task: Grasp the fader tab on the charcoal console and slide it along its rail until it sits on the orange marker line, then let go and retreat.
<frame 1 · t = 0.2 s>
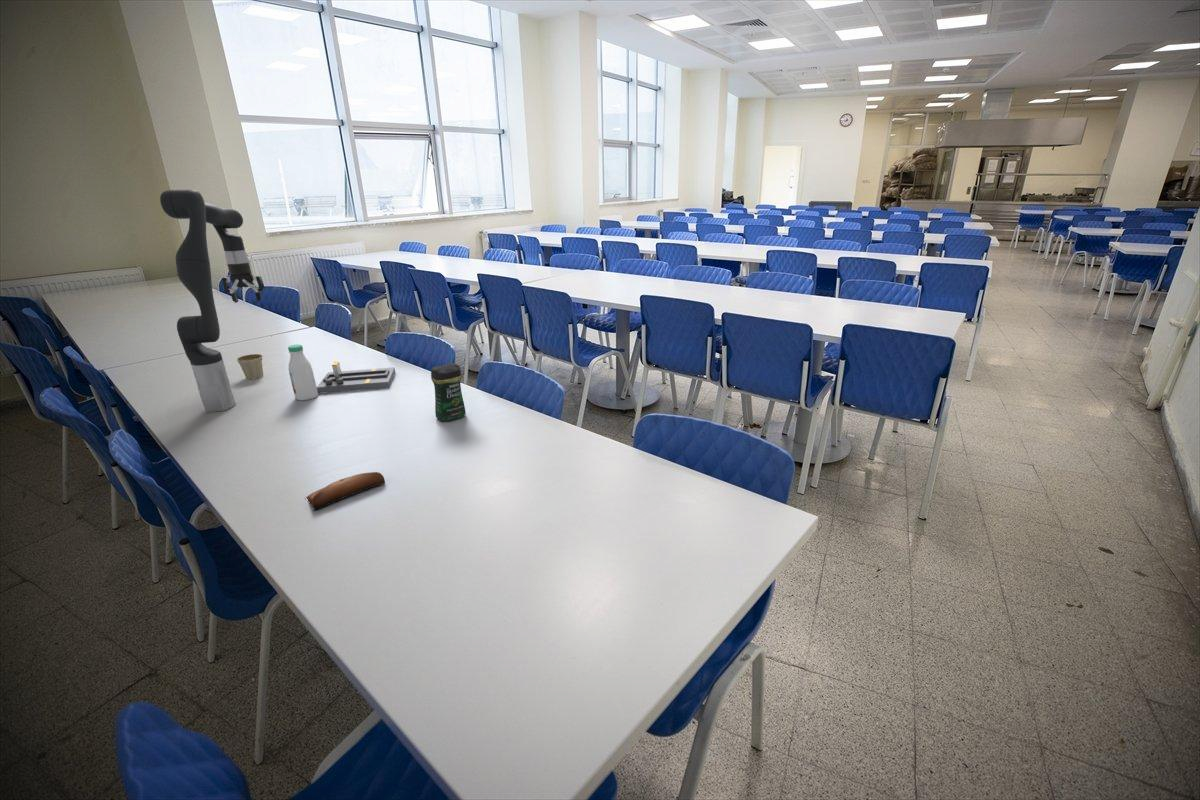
hand: (248, 301, 222), 29 cm above the table, fingers open, 8 cm apart
sunglasses case: (345, 493, 139), on the table
coffee jar: (451, 417, 182), on the table
flower pot: (254, 377, 223), on the table
milk bottle: (307, 397, 201), on the table
fader tab: (337, 370, 211), point 6 cm above the table, slide at 7.0 cm
console: (358, 382, 215), on the table
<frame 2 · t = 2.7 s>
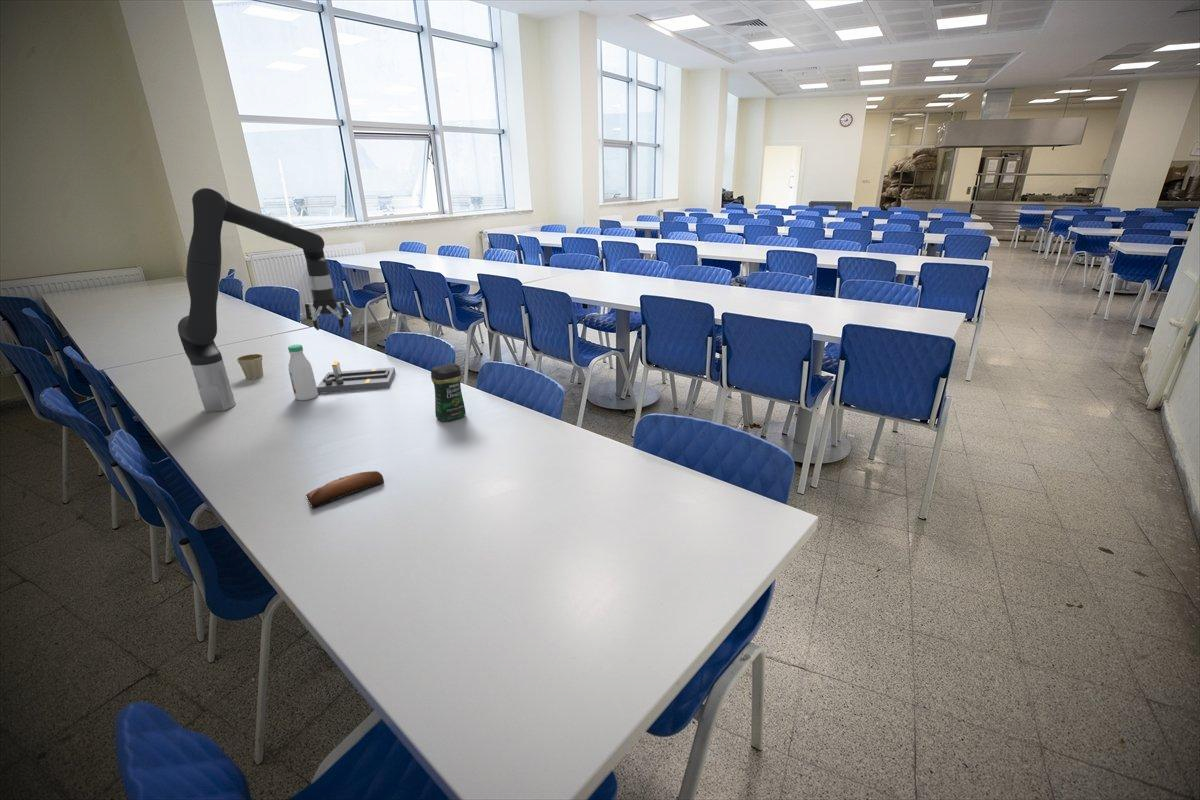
hand: (330, 328, 209), 22 cm above the table, fingers open, 8 cm apart
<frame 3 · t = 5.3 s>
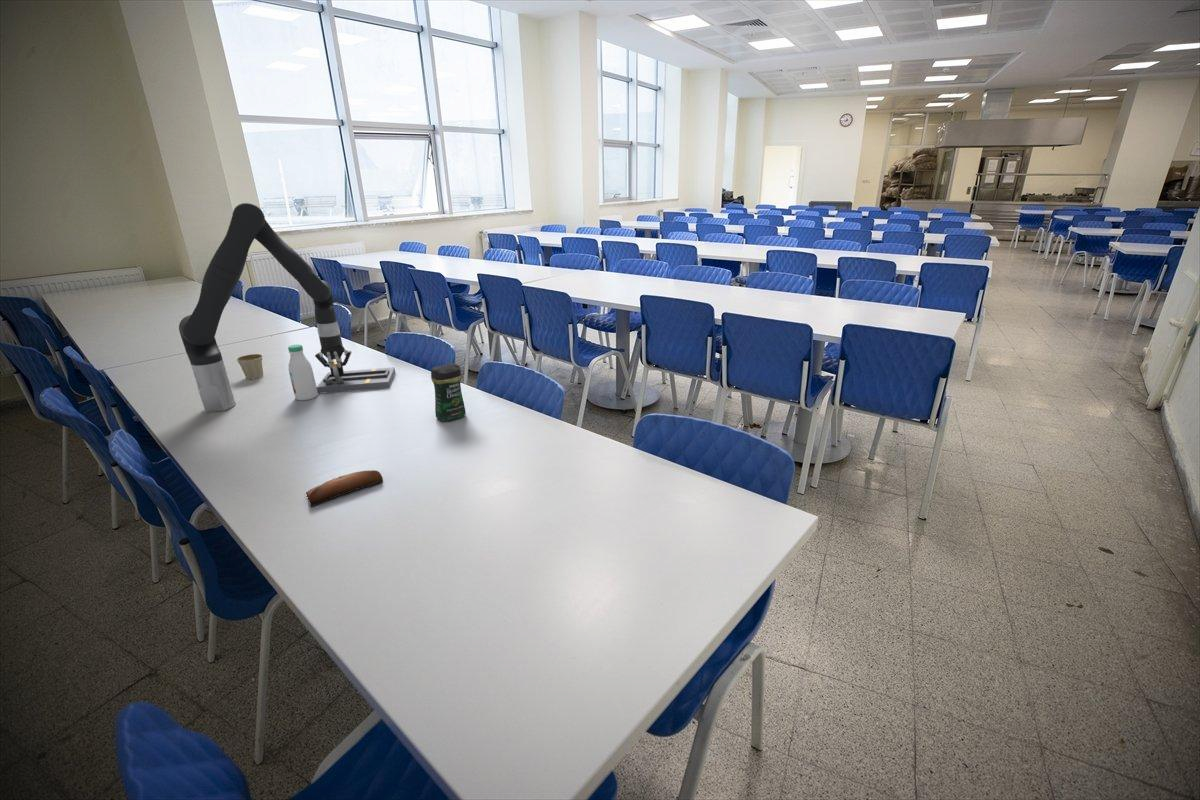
hand: (338, 375, 212), 4 cm above the table, fingers closed on fader tab
fader tab: (336, 370, 211), point 6 cm above the table, slide at 7.0 cm, touching gripper
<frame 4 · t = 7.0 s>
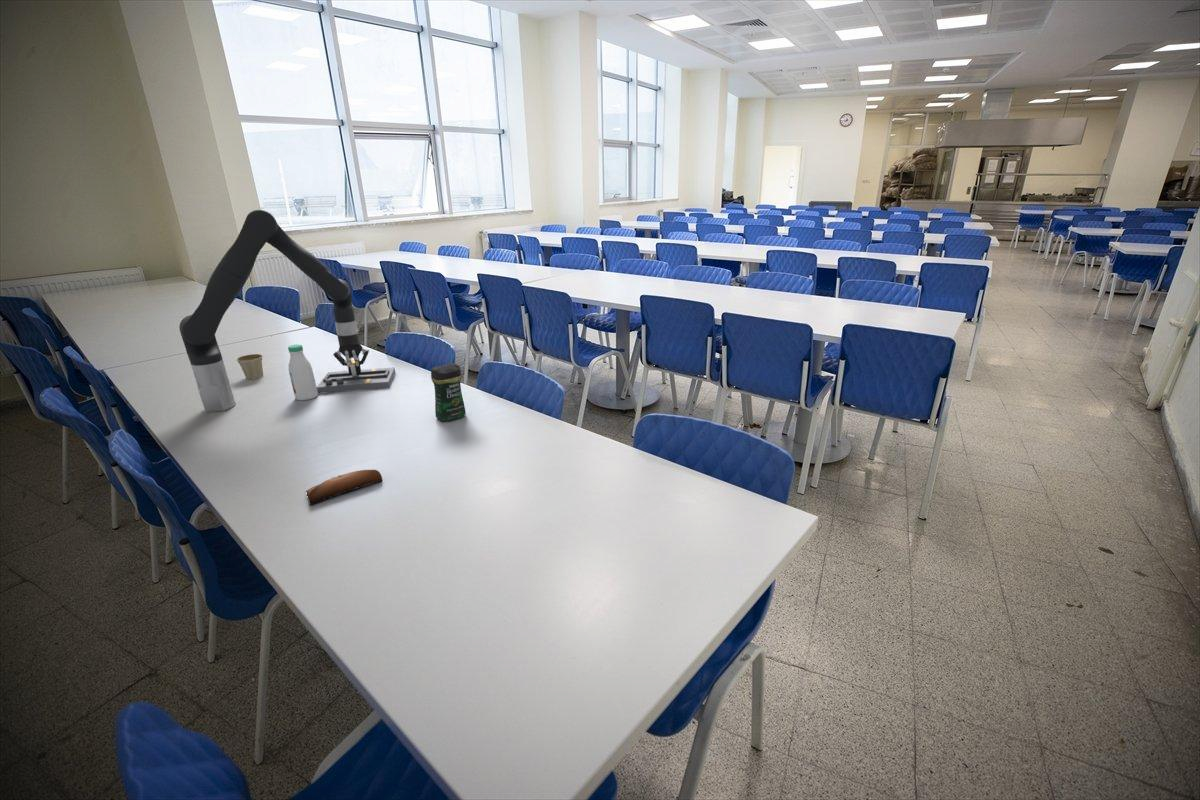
hand: (355, 374, 213), 4 cm above the table, fingers closed on fader tab
fader tab: (354, 369, 213), point 6 cm above the table, slide at 0.5 cm, touching gripper
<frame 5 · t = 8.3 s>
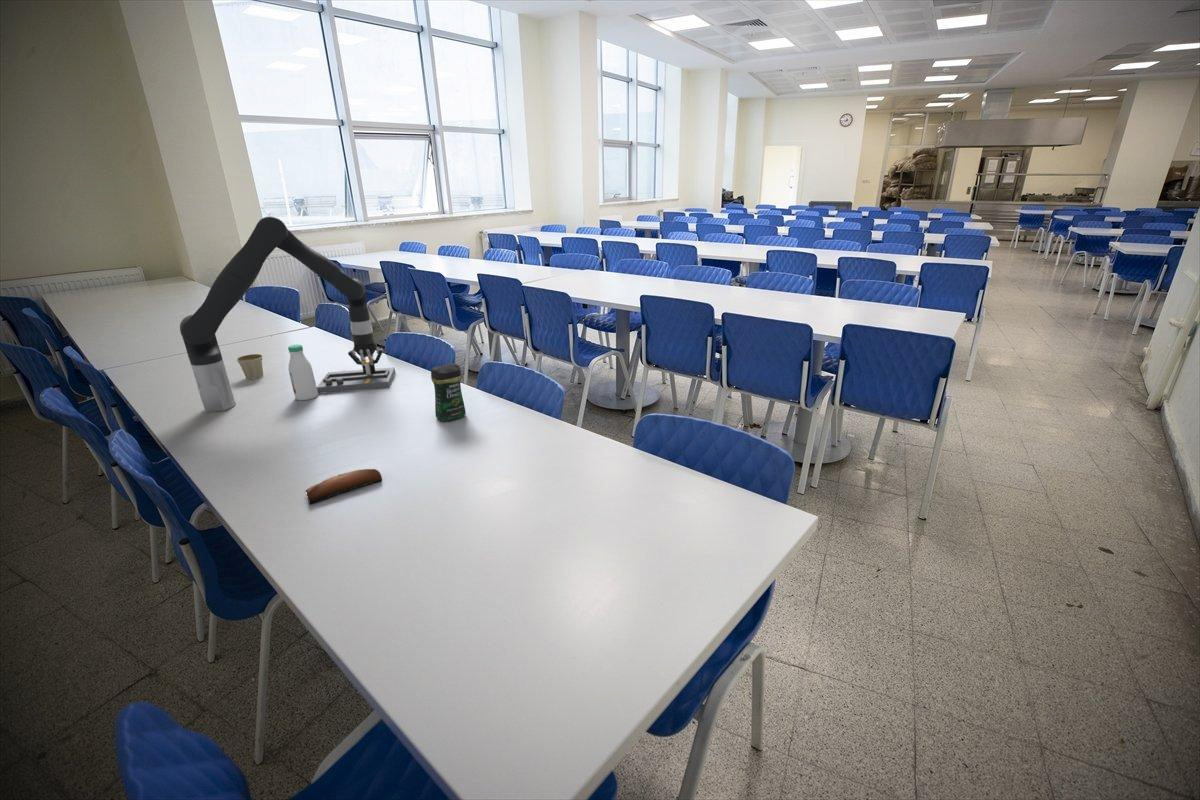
hand: (369, 373, 215), 4 cm above the table, fingers closed on fader tab
fader tab: (368, 368, 214), point 6 cm above the table, slide at -4.9 cm, touching gripper
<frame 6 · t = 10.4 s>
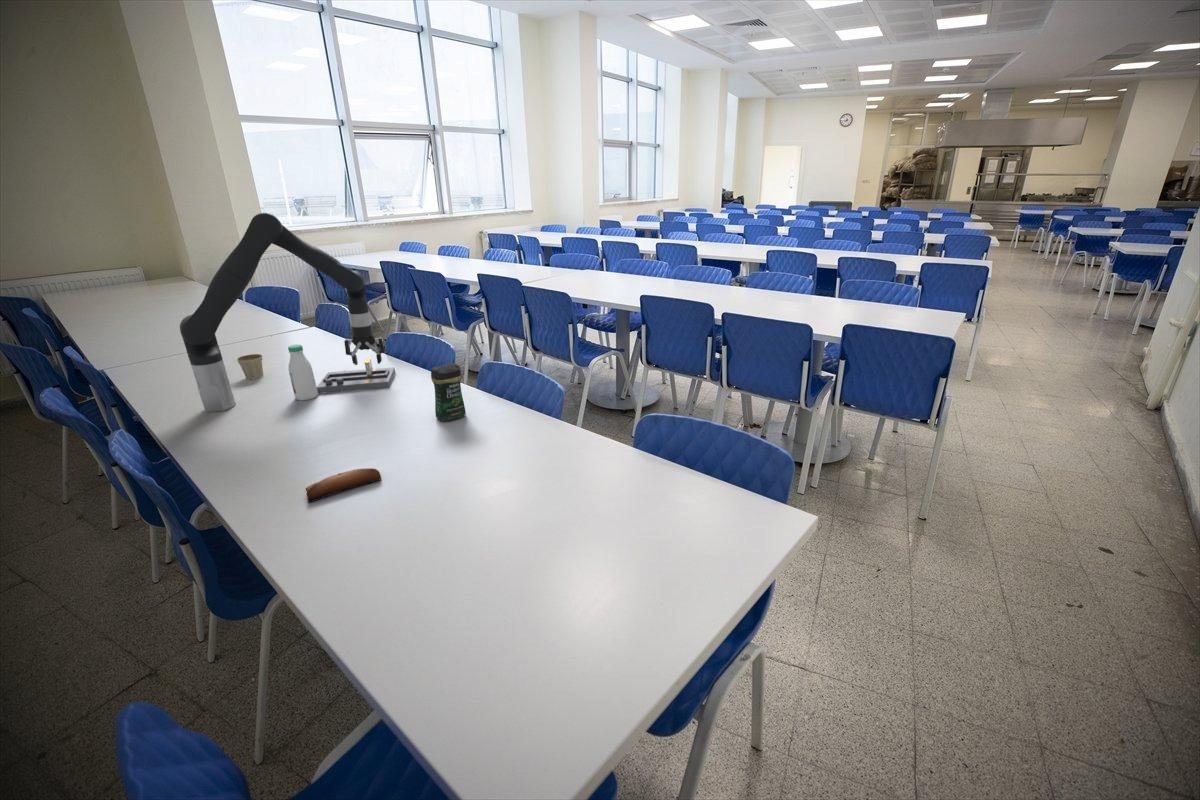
hand: (367, 363, 213), 8 cm above the table, fingers open, 8 cm apart
fader tab: (369, 368, 214), point 6 cm above the table, slide at -5.0 cm
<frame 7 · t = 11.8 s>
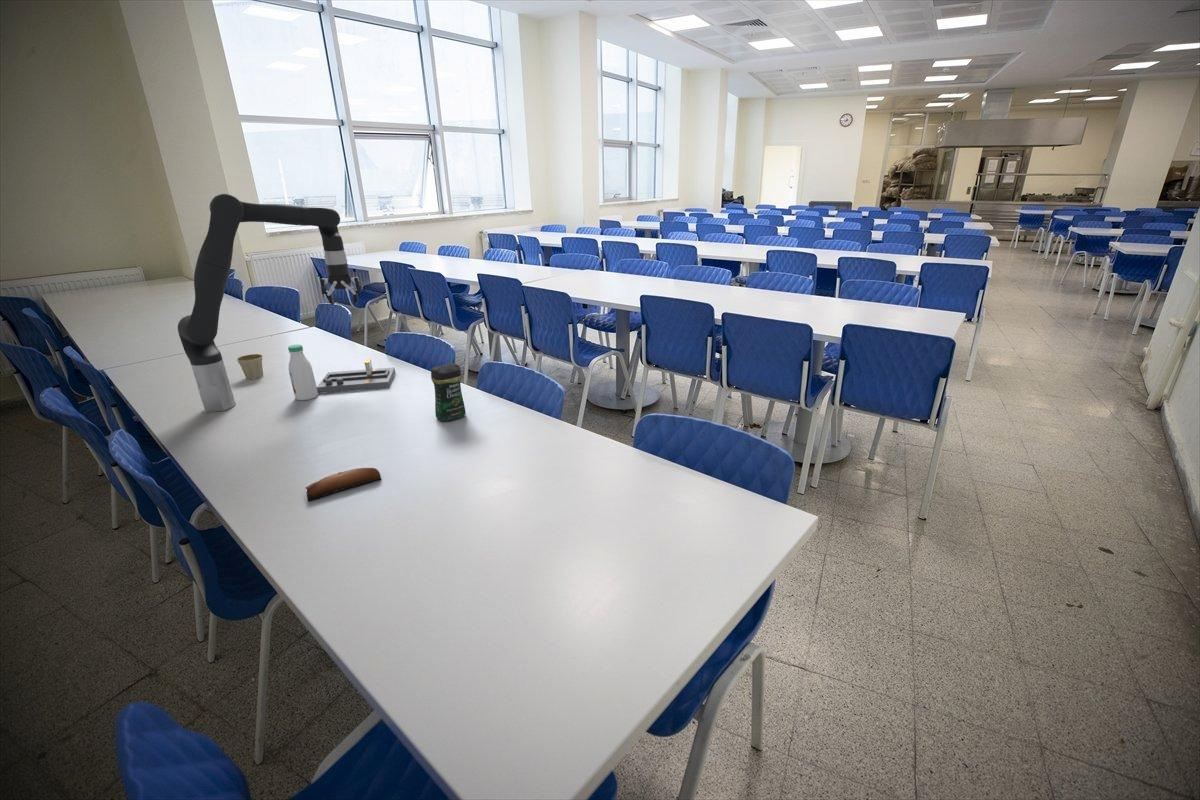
hand: (344, 304, 213), 30 cm above the table, fingers open, 8 cm apart
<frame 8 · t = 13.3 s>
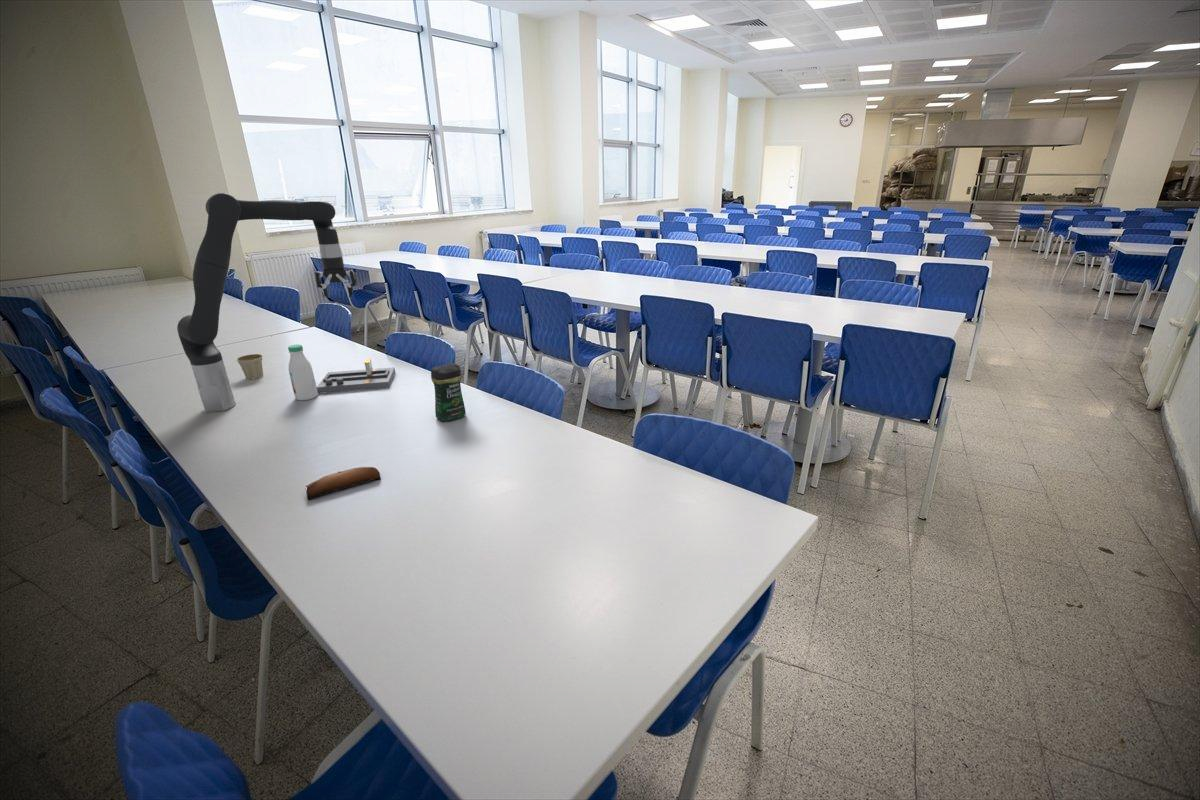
hand: (339, 297, 214), 32 cm above the table, fingers open, 8 cm apart
at the end: fader tab slide at -5.0 cm; the gripper is holding nothing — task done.
